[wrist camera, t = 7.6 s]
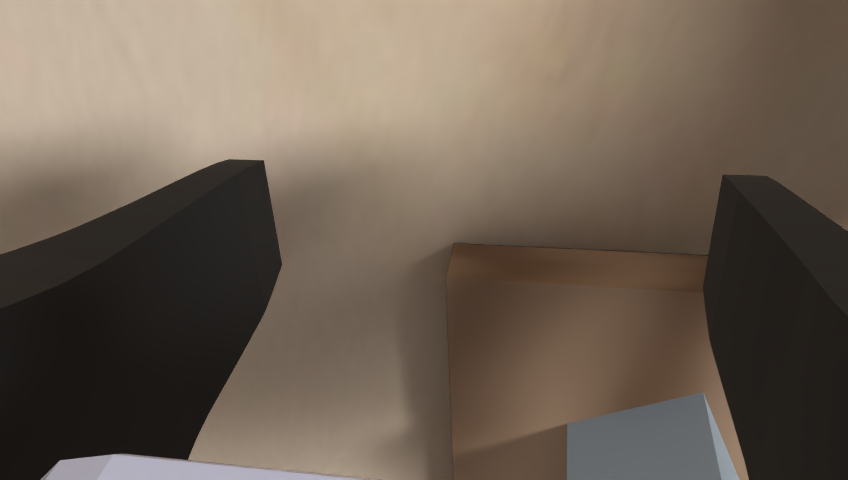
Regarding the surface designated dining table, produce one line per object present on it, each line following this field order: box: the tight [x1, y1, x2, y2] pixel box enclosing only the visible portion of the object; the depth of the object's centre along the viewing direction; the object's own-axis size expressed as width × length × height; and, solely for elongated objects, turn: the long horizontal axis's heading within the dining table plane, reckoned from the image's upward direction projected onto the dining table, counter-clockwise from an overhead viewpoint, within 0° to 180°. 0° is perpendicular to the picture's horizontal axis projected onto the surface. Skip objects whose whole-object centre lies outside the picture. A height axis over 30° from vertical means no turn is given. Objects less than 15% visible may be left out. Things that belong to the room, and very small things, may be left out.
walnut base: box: [446, 243, 749, 480], centre depth 26 cm, size 14×14×2 cm
